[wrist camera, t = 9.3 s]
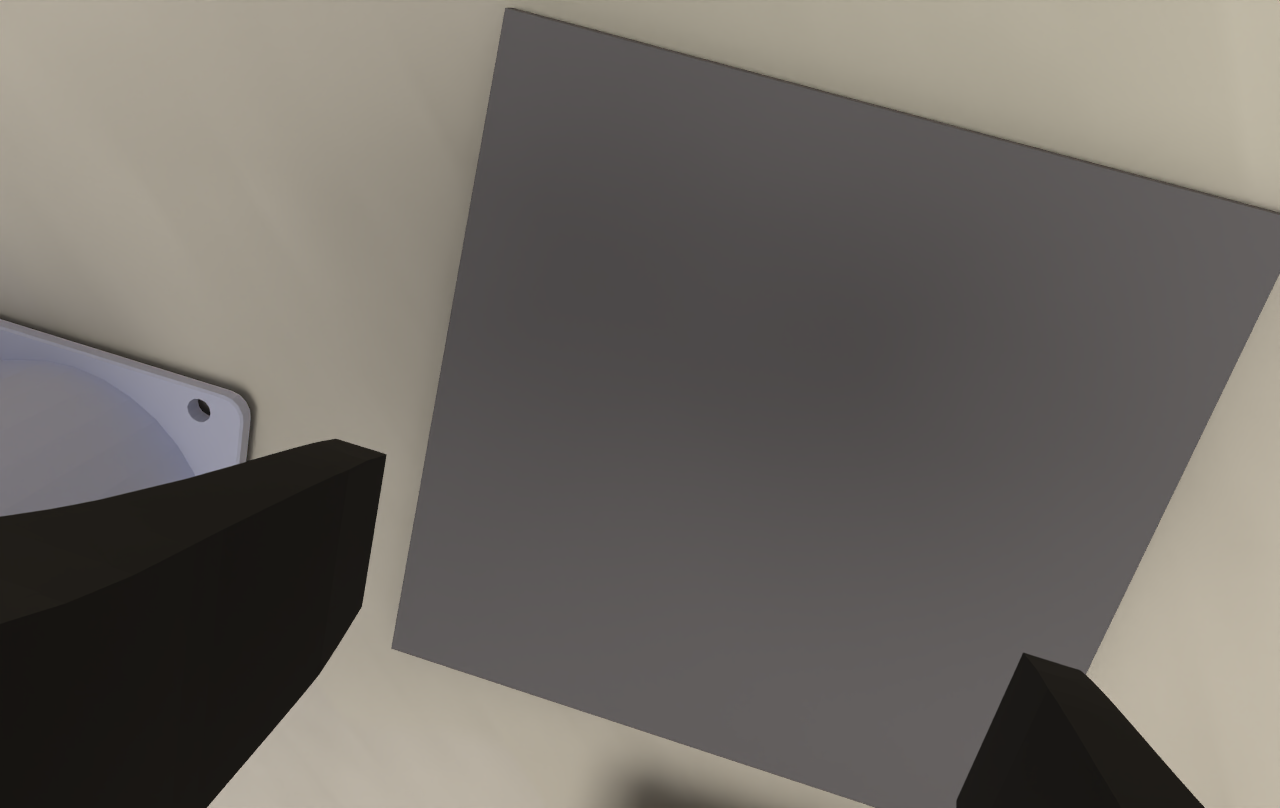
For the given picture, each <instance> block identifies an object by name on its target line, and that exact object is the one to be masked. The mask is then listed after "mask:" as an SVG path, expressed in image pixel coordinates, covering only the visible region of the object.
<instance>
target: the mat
mask: <svg viewBox="0 0 1280 808" xmlns="http://www.w3.org/2000/svg"><path fill="white" fill-rule="evenodd" d="M1279 274H1280V213H1278V212H1274V211H1270V210H1267V209H1263V208H1259V207H1255V206H1252V205H1248V204H1244V203H1240V202H1237V201H1233V200H1229V199H1225V198H1222V197H1218V196H1214V195H1210V194H1207V193H1203V192H1199V191H1195V190H1192V189H1188V188H1184V187H1180V186H1177V185H1173V184H1169V183H1166V182H1162V181H1158V180H1154V179H1151V178H1147V177H1143V176H1139V175H1136V174H1132V173H1128V172H1124V171H1121V170H1117V169H1113V168H1109V167H1106V166H1102V165H1098V164H1094V163H1091V162H1087V161H1083V160H1079V159H1076V158H1072V157H1068V156H1064V155H1061V154H1057V153H1053V152H1049V151H1046V150H1042V149H1038V148H1034V147H1031V146H1027V145H1023V144H1020V143H1016V142H1012V141H1008V140H1005V139H1001V138H997V137H993V136H990V135H986V134H982V133H978V132H975V131H971V130H967V129H963V128H960V127H956V126H952V125H948V124H945V123H941V122H937V121H933V120H930V119H926V118H922V117H918V116H915V115H911V114H907V113H903V112H900V111H896V110H892V109H889V108H885V107H881V106H877V105H874V104H870V103H866V102H862V101H859V100H855V99H851V98H847V97H844V96H840V95H836V94H832V93H829V92H825V91H821V90H817V89H814V88H810V87H806V86H802V85H799V84H795V83H791V82H787V81H784V80H780V79H776V78H772V77H769V76H765V75H761V74H758V73H754V72H750V71H746V70H743V69H739V68H735V67H731V66H728V65H724V64H720V63H716V62H713V61H709V60H705V59H701V58H698V57H694V56H690V55H686V54H683V53H679V52H675V51H671V50H668V49H664V48H660V47H656V46H653V45H649V44H645V43H641V42H638V41H634V40H630V39H627V38H623V37H619V36H615V35H612V34H608V33H604V32H600V31H597V30H593V29H589V28H585V27H582V26H578V25H574V24H570V23H567V22H563V21H559V20H555V19H552V18H548V17H544V16H540V15H537V14H533V13H529V12H525V11H522V10H518V9H514V8H505V13H504V18H503V24H502V29H501V35H500V41H499V46H498V52H497V58H496V63H495V69H494V74H493V80H492V86H491V91H490V97H489V103H488V108H487V114H486V119H485V125H484V131H483V136H482V142H481V148H480V153H479V159H478V164H477V170H476V176H475V181H474V187H473V193H472V198H471V204H470V209H469V215H468V221H467V226H466V232H465V238H464V243H463V249H462V254H461V260H460V266H459V271H458V277H457V283H456V288H455V294H454V299H453V305H452V311H451V316H450V322H449V328H448V333H447V339H446V344H445V350H444V356H443V361H442V367H441V373H440V378H439V384H438V389H437V395H436V401H435V406H434V412H433V418H432V423H431V429H430V434H429V440H428V446H427V451H426V457H425V462H424V468H423V474H422V479H421V485H420V491H419V496H418V502H417V507H416V513H415V519H414V524H413V530H412V536H411V541H410V547H409V552H408V558H407V564H406V569H405V575H404V581H403V586H402V592H401V597H400V603H399V609H398V614H397V620H396V626H395V631H394V637H393V642H392V649H395V650H398V651H401V652H404V653H407V654H410V655H413V656H416V657H419V658H422V659H425V660H428V661H431V662H434V663H437V664H440V665H443V666H446V667H449V668H452V669H455V670H458V671H462V672H465V673H468V674H471V675H474V676H477V677H480V678H483V679H486V680H489V681H492V682H495V683H498V684H501V685H504V686H507V687H510V688H513V689H516V690H519V691H522V692H525V693H529V694H532V695H535V696H538V697H541V698H544V699H547V700H550V701H553V702H556V703H559V704H562V705H565V706H568V707H571V708H574V709H577V710H580V711H583V712H586V713H589V714H592V715H595V716H599V717H602V718H605V719H608V720H611V721H614V722H617V723H620V724H623V725H626V726H629V727H632V728H635V729H638V730H641V731H644V732H647V733H650V734H653V735H656V736H659V737H662V738H666V739H669V740H672V741H675V742H678V743H681V744H684V745H687V746H690V747H693V748H696V749H699V750H702V751H705V752H708V753H711V754H714V755H717V756H720V757H723V758H726V759H729V760H732V761H736V762H739V763H742V764H745V765H748V766H751V767H754V768H757V769H760V770H763V771H766V772H769V773H772V774H775V775H778V776H781V777H784V778H787V779H790V780H793V781H796V782H799V783H802V784H806V785H809V786H812V787H815V788H818V789H821V790H824V791H827V792H830V793H833V794H836V795H839V796H842V797H845V798H848V799H851V800H854V801H857V802H860V803H863V804H866V805H869V806H873V807H876V808H956V800H957V798H958V796H959V793H960V791H961V789H962V787H963V784H964V782H965V780H966V778H967V776H968V773H969V771H970V769H971V767H972V765H973V762H974V760H975V758H976V756H977V754H978V751H979V749H980V747H981V745H982V742H983V740H984V738H985V736H986V734H987V731H988V729H989V727H990V725H991V723H992V720H993V718H994V716H995V714H996V711H997V709H998V707H999V705H1000V703H1001V700H1002V698H1003V696H1004V694H1005V692H1006V689H1007V687H1008V685H1009V683H1010V680H1011V678H1012V676H1013V674H1014V672H1015V669H1016V667H1017V665H1018V663H1019V661H1020V658H1021V656H1022V654H1023V653H1027V654H1030V655H1033V656H1036V657H1039V658H1043V659H1046V660H1049V661H1052V662H1056V663H1059V664H1062V665H1065V666H1068V667H1072V668H1075V669H1078V670H1081V671H1082V672H1083V673H1084V674H1085V675H1086V673H1087V671H1088V669H1089V667H1090V664H1091V662H1092V660H1093V658H1094V656H1095V654H1096V652H1097V650H1098V648H1099V646H1100V644H1101V642H1102V640H1103V638H1104V636H1105V633H1106V631H1107V629H1108V627H1109V625H1110V623H1111V621H1112V619H1113V617H1114V615H1115V613H1116V611H1117V609H1118V607H1119V604H1120V602H1121V600H1122V598H1123V596H1124V594H1125V592H1126V590H1127V588H1128V586H1129V584H1130V582H1131V580H1132V578H1133V576H1134V573H1135V571H1136V569H1137V567H1138V565H1139V563H1140V561H1141V559H1142V557H1143V555H1144V553H1145V551H1146V549H1147V547H1148V545H1149V542H1150V540H1151V538H1152V536H1153V534H1154V532H1155V530H1156V528H1157V526H1158V524H1159V522H1160V520H1161V518H1162V516H1163V514H1164V511H1165V509H1166V507H1167V505H1168V503H1169V501H1170V499H1171V497H1172V495H1173V493H1174V491H1175V489H1176V487H1177V485H1178V482H1179V480H1180V478H1181V476H1182V474H1183V472H1184V470H1185V468H1186V466H1187V464H1188V462H1189V460H1190V458H1191V456H1192V454H1193V451H1194V449H1195V447H1196V445H1197V443H1198V441H1199V439H1200V437H1201V435H1202V433H1203V431H1204V429H1205V427H1206V425H1207V423H1208V420H1209V418H1210V416H1211V414H1212V412H1213V410H1214V408H1215V406H1216V404H1217V402H1218V400H1219V398H1220V396H1221V394H1222V391H1223V389H1224V387H1225V385H1226V383H1227V381H1228V379H1229V377H1230V375H1231V373H1232V371H1233V369H1234V367H1235V365H1236V363H1237V360H1238V358H1239V356H1240V354H1241V352H1242V350H1243V348H1244V346H1245V344H1246V342H1247V340H1248V338H1249V336H1250V334H1251V332H1252V329H1253V327H1254V325H1255V323H1256V321H1257V319H1258V317H1259V315H1260V313H1261V311H1262V309H1263V307H1264V305H1265V303H1266V301H1267V298H1268V296H1269V294H1270V292H1271V290H1272V288H1273V286H1274V284H1275V282H1276V280H1277V278H1278V276H1279Z"/></svg>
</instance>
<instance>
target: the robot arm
mask: <svg viewBox="0 0 1280 808" xmlns="http://www.w3.org/2000/svg"><path fill="white" fill-rule="evenodd" d="M198 399H201V400H202V401H204V402H206V404H207V405H208V406H209V408H210V415H207V414H206V413H204V412H203V411H202V410H201V409H200V407H199V404H198ZM250 421H251V415H250V409H249V407H248V404H247V402H246V401H245V400H244V399H243V398H242V397H241V396H240V395H239V394H237V393H235V392H233V391H231V390H228V389H225V388H222V387H218V386H215V385H212V384H209V383H205V382H202V381H199V380H196V379H192V378H189V377H186V376H183V375H180V374H176V373H173V372H170V371H167V370H163V369H160V368H157V367H154V366H150V365H147V364H144V363H141V362H138V361H134V360H131V359H128V358H125V357H121V356H118V355H115V354H112V353H108V352H105V351H102V350H99V349H96V348H92V347H89V346H86V345H83V344H79V343H76V342H73V341H70V340H66V339H63V338H60V337H57V336H54V335H50V334H47V333H44V332H41V331H37V330H34V329H31V328H28V327H24V326H21V325H18V324H15V323H12V322H8V321H5V320H2V319H0V808H207V807H208V806H209V804H210V803H211V802H212V801H213V800H214V799H215V797H216V796H217V795H218V794H219V793H220V791H221V790H222V789H223V788H224V787H225V786H226V784H227V783H228V782H229V781H230V780H231V779H232V777H233V776H234V775H235V774H236V773H237V772H238V770H239V769H240V768H241V767H242V766H243V765H244V763H245V762H246V761H247V760H248V759H249V757H250V756H251V755H252V754H253V753H254V752H255V750H256V749H257V748H258V747H259V746H260V745H261V743H262V742H263V741H264V740H265V739H266V738H267V736H268V735H269V734H270V733H271V732H272V731H273V729H274V728H275V727H276V726H277V725H278V723H279V722H280V721H281V720H282V719H283V718H284V716H285V715H286V714H287V713H288V712H289V710H290V709H291V708H292V707H293V706H294V704H295V703H296V702H297V701H298V700H299V698H300V697H301V696H302V695H303V694H304V692H305V691H306V690H307V689H308V688H309V686H310V685H311V684H312V683H313V681H314V680H315V679H316V678H317V677H318V675H319V674H320V672H321V671H322V669H323V668H324V666H325V665H326V663H327V662H328V660H329V659H330V657H331V655H332V654H333V652H334V651H335V649H336V648H337V646H338V645H339V643H340V641H341V640H342V638H343V637H344V635H345V633H346V632H347V630H348V628H349V627H350V625H351V623H352V622H353V620H354V619H355V617H356V615H357V614H358V612H359V610H360V609H361V607H362V603H363V596H364V590H365V584H366V578H367V572H368V566H369V559H370V553H371V547H372V541H373V535H374V529H375V522H376V516H377V510H378V504H379V498H380V492H381V485H382V479H383V473H384V467H385V461H386V455H387V454H383V453H380V452H377V451H374V450H371V449H367V448H364V447H361V446H358V445H354V444H351V443H348V442H345V441H342V440H338V439H332V440H326V441H321V442H316V443H312V444H308V445H304V446H300V447H297V448H293V449H289V450H286V451H282V452H279V453H275V454H272V455H268V456H265V457H261V458H258V459H254V460H251V461H247V462H246V458H247V449H248V439H249V430H250ZM956 808H1205V807H1204V806H1203V805H1202V804H1201V803H1200V802H1199V801H1198V800H1197V799H1196V798H1195V796H1194V795H1193V794H1192V793H1191V792H1190V791H1189V790H1188V789H1187V787H1186V786H1185V785H1184V784H1183V783H1182V782H1181V781H1180V779H1179V778H1178V777H1177V776H1176V775H1175V774H1174V773H1173V772H1172V770H1171V769H1170V768H1169V767H1168V766H1167V765H1166V764H1165V762H1164V761H1163V760H1162V759H1161V758H1160V757H1159V756H1158V754H1157V753H1156V752H1155V751H1154V750H1153V749H1152V747H1151V746H1150V745H1149V744H1148V743H1147V742H1146V741H1145V739H1144V738H1143V737H1142V736H1141V735H1140V734H1139V732H1138V731H1137V730H1136V729H1135V728H1134V727H1133V726H1132V724H1131V723H1130V722H1129V721H1128V720H1127V719H1126V718H1125V716H1124V715H1123V714H1122V713H1121V712H1120V711H1119V710H1118V708H1117V707H1116V706H1115V705H1114V704H1113V703H1112V702H1111V701H1110V699H1109V698H1108V697H1107V696H1106V695H1105V694H1104V693H1103V692H1102V691H1101V690H1100V689H1099V688H1098V687H1097V686H1096V685H1095V683H1094V682H1093V681H1092V680H1091V679H1089V678H1088V677H1087V676H1086V675H1085V674H1084V673H1083V672H1082V671H1081V670H1078V669H1075V668H1072V667H1068V666H1065V665H1062V664H1059V663H1056V662H1052V661H1049V660H1046V659H1043V658H1039V657H1036V656H1033V655H1030V654H1027V653H1023V654H1022V656H1021V658H1020V661H1019V663H1018V665H1017V667H1016V669H1015V672H1014V674H1013V676H1012V678H1011V680H1010V683H1009V685H1008V687H1007V689H1006V692H1005V694H1004V696H1003V698H1002V700H1001V703H1000V705H999V707H998V709H997V711H996V714H995V716H994V718H993V720H992V723H991V725H990V727H989V729H988V731H987V734H986V736H985V738H984V740H983V742H982V745H981V747H980V749H979V751H978V754H977V756H976V758H975V760H974V762H973V765H972V767H971V769H970V771H969V773H968V776H967V778H966V780H965V782H964V784H963V787H962V789H961V791H960V793H959V796H958V798H957V800H956Z"/></svg>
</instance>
